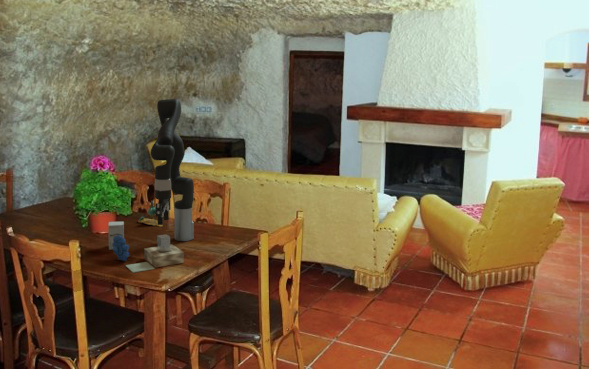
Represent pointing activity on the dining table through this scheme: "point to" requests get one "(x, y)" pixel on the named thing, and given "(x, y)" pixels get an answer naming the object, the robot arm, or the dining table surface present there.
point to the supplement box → (115, 231)
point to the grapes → (120, 247)
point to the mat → (140, 267)
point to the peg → (163, 243)
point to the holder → (163, 256)
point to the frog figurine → (148, 220)
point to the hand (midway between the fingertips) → (163, 222)
